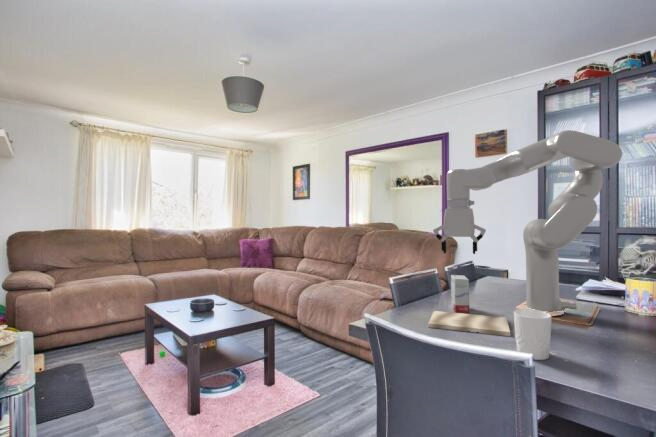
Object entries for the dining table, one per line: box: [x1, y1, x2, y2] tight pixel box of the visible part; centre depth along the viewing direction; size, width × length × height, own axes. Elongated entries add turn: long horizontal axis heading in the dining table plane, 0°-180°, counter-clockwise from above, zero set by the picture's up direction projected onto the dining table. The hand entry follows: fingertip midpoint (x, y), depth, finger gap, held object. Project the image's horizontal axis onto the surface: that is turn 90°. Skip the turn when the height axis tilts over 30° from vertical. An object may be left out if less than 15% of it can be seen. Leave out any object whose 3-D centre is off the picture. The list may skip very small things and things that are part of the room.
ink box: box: [450, 274, 471, 314], centre depth 122 cm, size 9×5×12 cm, turn 168°
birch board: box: [428, 310, 511, 337], centre depth 106 cm, size 22×14×1 cm, turn 66°
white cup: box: [513, 308, 553, 361], centre depth 83 cm, size 8×8×10 cm
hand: (459, 253), depth 121 cm, fingers open, 9 cm apart
